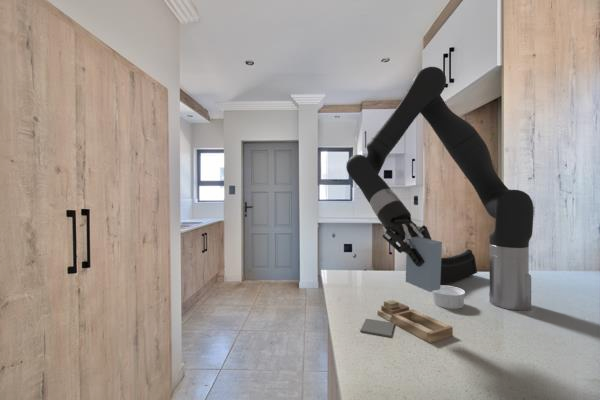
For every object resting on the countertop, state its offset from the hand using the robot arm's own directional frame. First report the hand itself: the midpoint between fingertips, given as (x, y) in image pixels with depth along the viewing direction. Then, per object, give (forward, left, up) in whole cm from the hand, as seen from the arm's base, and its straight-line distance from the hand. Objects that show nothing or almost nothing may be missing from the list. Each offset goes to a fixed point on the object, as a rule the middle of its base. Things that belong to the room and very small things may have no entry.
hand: (427, 263), depth 68 cm
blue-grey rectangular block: (+1, -1, -6) cm, 6 cm away
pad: (+11, +2, -16) cm, 20 cm away
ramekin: (-5, -21, -17) cm, 27 cm away
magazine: (-8, -45, -17) cm, 49 cm away
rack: (+4, -3, -16) cm, 17 cm away
